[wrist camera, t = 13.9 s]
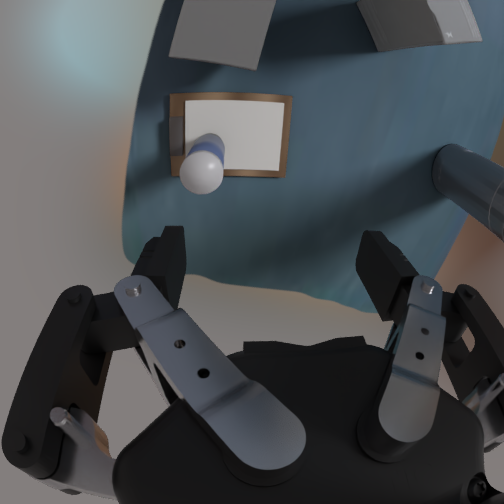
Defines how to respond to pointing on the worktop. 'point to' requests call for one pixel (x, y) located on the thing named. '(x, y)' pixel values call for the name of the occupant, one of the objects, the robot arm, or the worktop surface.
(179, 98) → the clipboard
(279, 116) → the paper
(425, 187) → the worktop surface
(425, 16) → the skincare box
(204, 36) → the grey curved block
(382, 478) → the robot arm
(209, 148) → the marker
